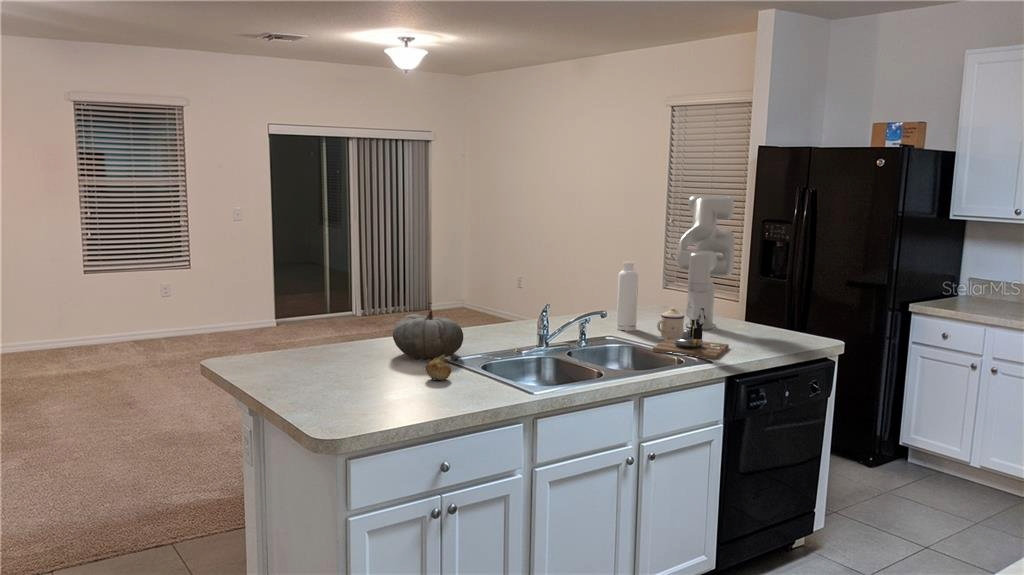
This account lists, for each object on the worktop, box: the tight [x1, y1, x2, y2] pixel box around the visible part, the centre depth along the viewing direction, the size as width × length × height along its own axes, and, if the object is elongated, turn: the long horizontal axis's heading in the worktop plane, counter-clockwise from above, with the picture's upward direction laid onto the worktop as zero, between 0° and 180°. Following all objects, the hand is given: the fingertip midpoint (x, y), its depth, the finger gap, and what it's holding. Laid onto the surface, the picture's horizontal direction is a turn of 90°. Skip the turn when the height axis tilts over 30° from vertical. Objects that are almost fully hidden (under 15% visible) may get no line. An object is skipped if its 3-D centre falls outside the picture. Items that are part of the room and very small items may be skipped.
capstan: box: [675, 325, 703, 348], centre depth 290 cm, size 15×10×9 cm
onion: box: [425, 355, 452, 381], centre depth 249 cm, size 8×8×8 cm
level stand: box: [652, 337, 730, 360], centre depth 294 cm, size 20×23×2 cm
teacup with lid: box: [656, 307, 685, 339], centre depth 314 cm, size 12×9×12 cm
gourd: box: [392, 309, 464, 361], centre depth 278 cm, size 25×25×17 cm
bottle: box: [616, 260, 639, 332], centre depth 327 cm, size 8×8×28 cm
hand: (696, 337), depth 284 cm, fingers closed on capstan, 2 cm apart
